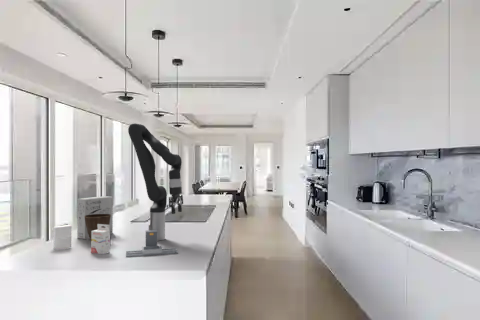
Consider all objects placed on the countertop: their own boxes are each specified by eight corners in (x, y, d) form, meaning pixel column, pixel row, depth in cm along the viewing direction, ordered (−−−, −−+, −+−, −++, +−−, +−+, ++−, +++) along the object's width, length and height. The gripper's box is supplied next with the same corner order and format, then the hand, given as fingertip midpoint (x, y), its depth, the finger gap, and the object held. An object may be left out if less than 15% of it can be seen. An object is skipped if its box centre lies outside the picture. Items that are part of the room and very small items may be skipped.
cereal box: (84, 239, 220) (85, 199, 220) (77, 237, 224) (77, 198, 224) (112, 233, 239) (113, 196, 239) (105, 232, 243) (105, 196, 243)
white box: (68, 244, 205) (68, 224, 205) (73, 247, 198) (73, 226, 198) (51, 247, 198) (51, 226, 199) (56, 250, 192) (56, 228, 192)
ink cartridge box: (90, 253, 186) (90, 225, 186) (97, 250, 191) (97, 223, 191) (103, 254, 183) (103, 226, 184) (110, 252, 188) (110, 224, 188)
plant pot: (78, 242, 210) (78, 216, 210) (99, 238, 223) (99, 213, 223) (96, 245, 203) (96, 217, 203) (116, 240, 216) (116, 214, 216)
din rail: (175, 249, 194) (175, 244, 194) (177, 253, 185) (177, 248, 185) (126, 252, 186) (126, 247, 186) (125, 257, 178) (126, 251, 178)
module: (156, 247, 198) (156, 230, 198) (157, 249, 193) (157, 231, 193) (145, 248, 196) (145, 230, 196) (145, 250, 192) (145, 232, 192)
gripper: (175, 186, 225) (176, 211, 224) (164, 187, 211) (165, 214, 211) (185, 185, 222) (187, 211, 222) (175, 186, 209) (176, 214, 208)
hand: (176, 212), depth 216 cm, fingers open, 8 cm apart
